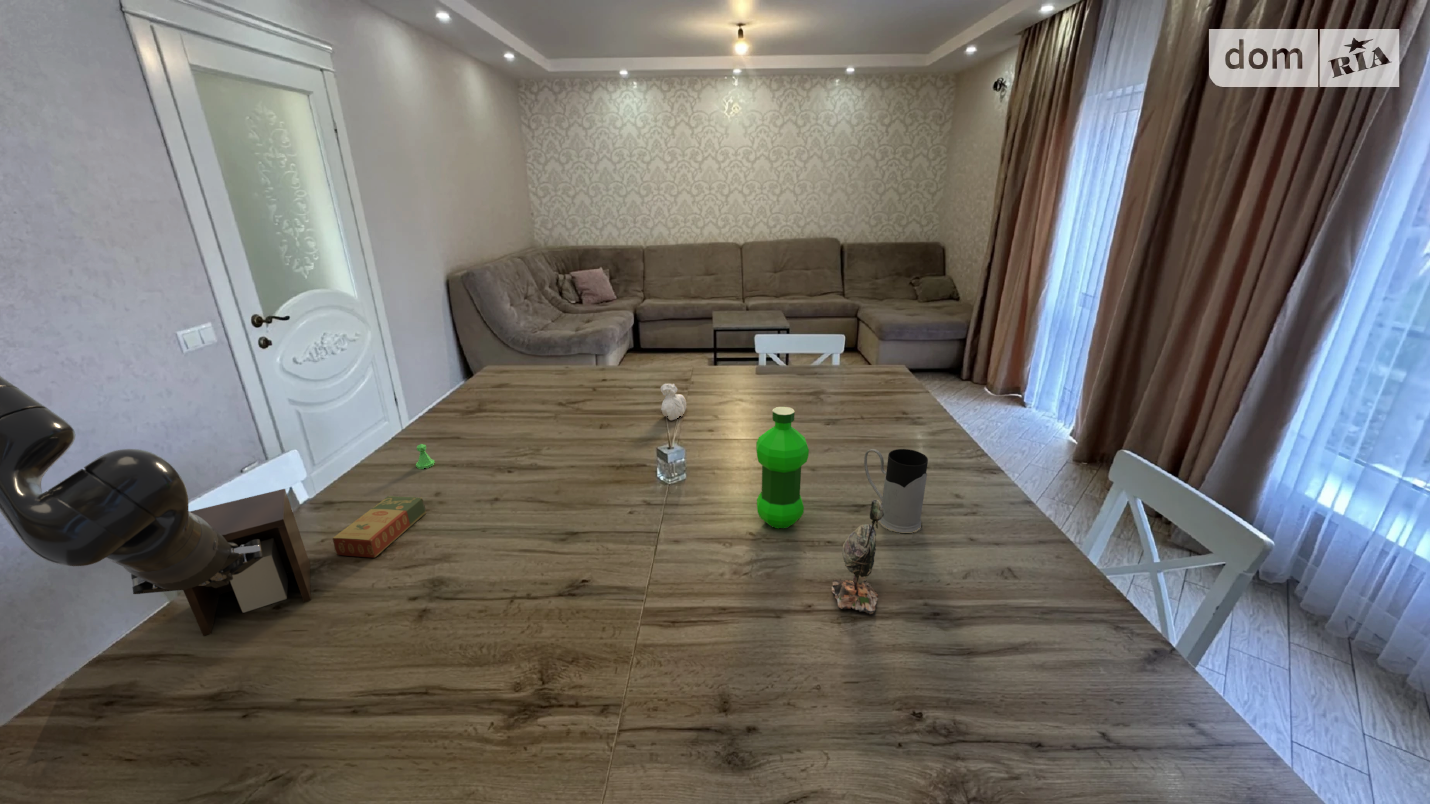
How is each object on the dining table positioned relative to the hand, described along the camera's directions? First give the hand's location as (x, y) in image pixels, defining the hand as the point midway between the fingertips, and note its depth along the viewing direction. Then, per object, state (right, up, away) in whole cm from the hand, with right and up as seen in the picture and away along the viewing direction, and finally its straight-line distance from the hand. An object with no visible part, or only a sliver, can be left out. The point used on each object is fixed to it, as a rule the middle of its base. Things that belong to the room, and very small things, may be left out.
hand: (221, 579), depth 76 cm
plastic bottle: (+82, -1, +39) cm, 91 cm away
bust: (+56, +20, +93) cm, 111 cm away
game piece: (-5, +8, +64) cm, 65 cm away
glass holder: (+105, 0, +40) cm, 113 cm away
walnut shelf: (-10, -9, +19) cm, 23 cm away
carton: (+1, -2, +36) cm, 36 cm away
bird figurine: (+93, -8, +18) cm, 95 cm away
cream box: (-9, -9, +19) cm, 23 cm away
